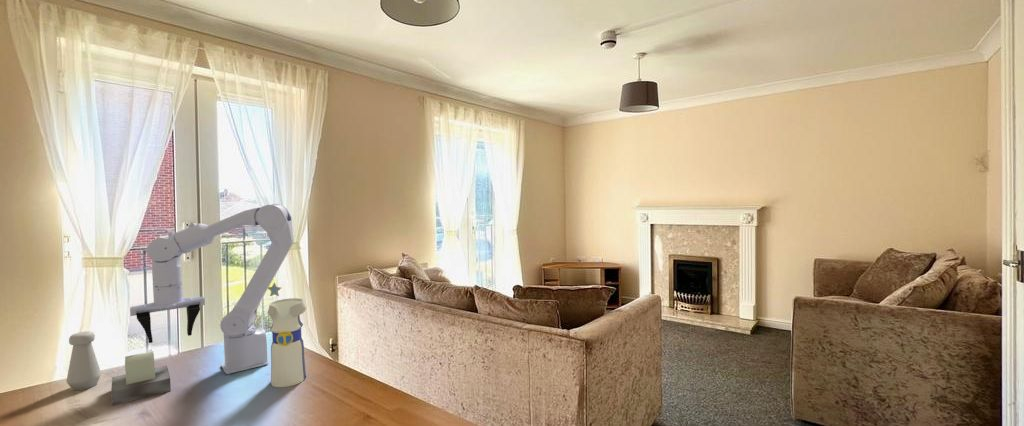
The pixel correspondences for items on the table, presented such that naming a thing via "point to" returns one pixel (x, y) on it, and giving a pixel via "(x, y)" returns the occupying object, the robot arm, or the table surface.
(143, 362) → the sage block
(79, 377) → the salt shaker
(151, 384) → the gray plinth
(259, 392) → the table surface
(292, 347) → the cream belted dress
